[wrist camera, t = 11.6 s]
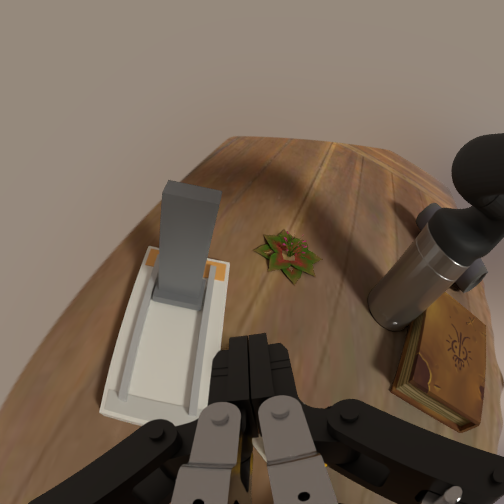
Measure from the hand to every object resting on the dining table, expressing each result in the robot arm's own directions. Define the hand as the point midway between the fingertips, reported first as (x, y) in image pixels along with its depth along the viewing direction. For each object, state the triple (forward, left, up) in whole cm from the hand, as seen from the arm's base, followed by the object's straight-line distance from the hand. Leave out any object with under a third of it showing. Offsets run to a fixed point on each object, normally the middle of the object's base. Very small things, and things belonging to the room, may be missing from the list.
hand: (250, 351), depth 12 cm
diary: (-34, +25, -23) cm, 48 cm away
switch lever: (-9, -14, -20) cm, 26 cm away
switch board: (-5, -10, -22) cm, 25 cm away
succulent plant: (-29, -10, -23) cm, 38 cm away
